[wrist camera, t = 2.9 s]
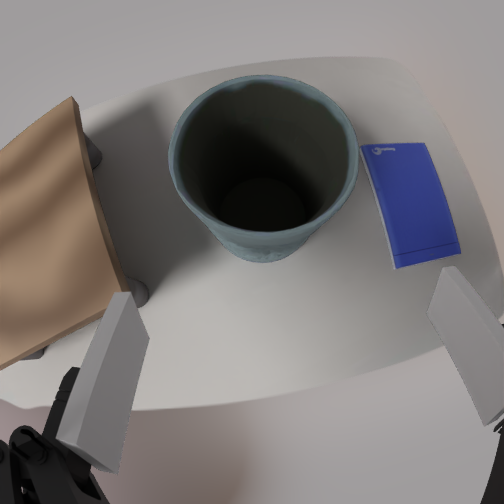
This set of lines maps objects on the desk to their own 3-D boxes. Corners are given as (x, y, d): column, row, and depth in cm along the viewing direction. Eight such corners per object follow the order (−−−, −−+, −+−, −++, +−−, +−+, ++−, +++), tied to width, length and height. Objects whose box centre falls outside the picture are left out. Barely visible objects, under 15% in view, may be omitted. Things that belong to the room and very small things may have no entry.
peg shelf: (-2, 215, 27) (-42, 194, 19) (104, 138, 29) (71, 95, 21) (31, 370, 23) (-20, 376, 15) (164, 305, 24) (124, 298, 17)
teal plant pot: (276, 149, 28) (284, 55, 16) (342, 233, 25) (398, 169, 14) (185, 205, 26) (138, 128, 15) (246, 299, 24) (234, 280, 13)
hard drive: (361, 144, 26) (397, 268, 24) (425, 142, 26) (463, 252, 24) (357, 152, 28) (390, 271, 25) (419, 149, 28) (454, 256, 25)
